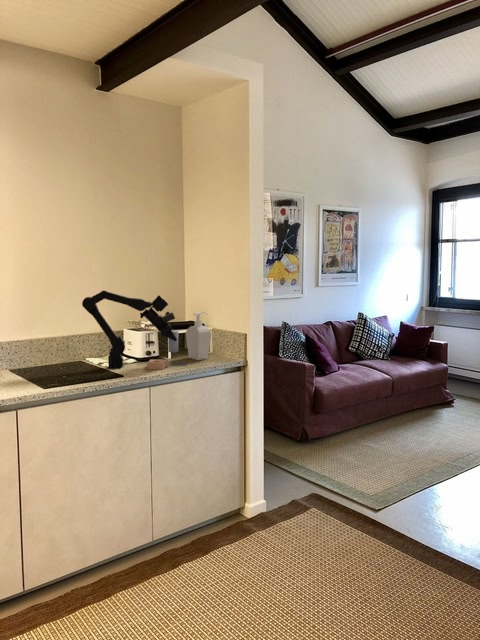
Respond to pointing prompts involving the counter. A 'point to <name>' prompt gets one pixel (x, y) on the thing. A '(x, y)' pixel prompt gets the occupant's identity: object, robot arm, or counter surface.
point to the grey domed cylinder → (173, 343)
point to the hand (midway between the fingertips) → (175, 339)
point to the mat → (178, 364)
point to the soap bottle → (198, 339)
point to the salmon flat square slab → (156, 364)
